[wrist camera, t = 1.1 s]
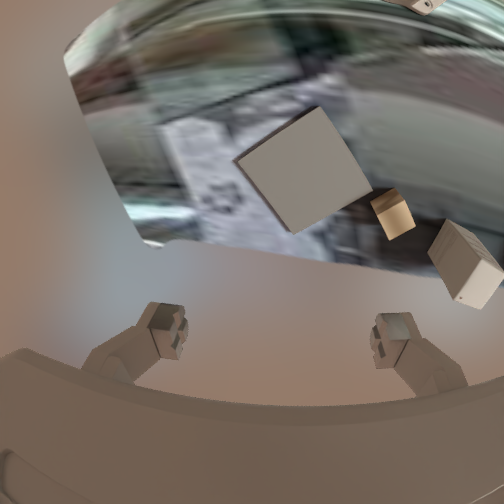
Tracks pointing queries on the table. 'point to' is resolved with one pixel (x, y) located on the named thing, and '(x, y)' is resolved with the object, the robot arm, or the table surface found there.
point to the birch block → (393, 213)
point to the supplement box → (465, 265)
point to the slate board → (306, 171)
